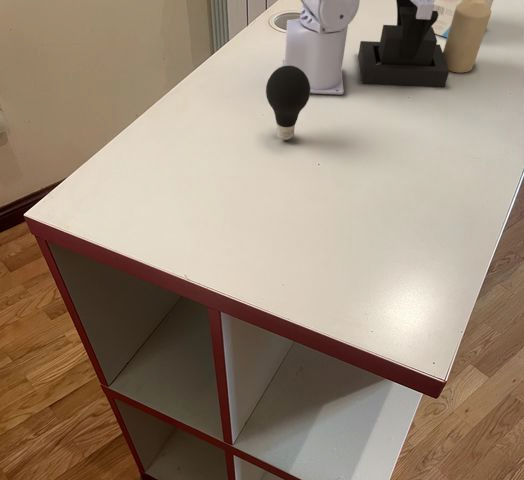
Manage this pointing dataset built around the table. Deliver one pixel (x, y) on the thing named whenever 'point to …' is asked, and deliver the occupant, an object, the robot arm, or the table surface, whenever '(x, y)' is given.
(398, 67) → the socket pad
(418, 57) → the small block
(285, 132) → the light bulb
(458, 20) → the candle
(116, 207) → the table surface
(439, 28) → the ink box
